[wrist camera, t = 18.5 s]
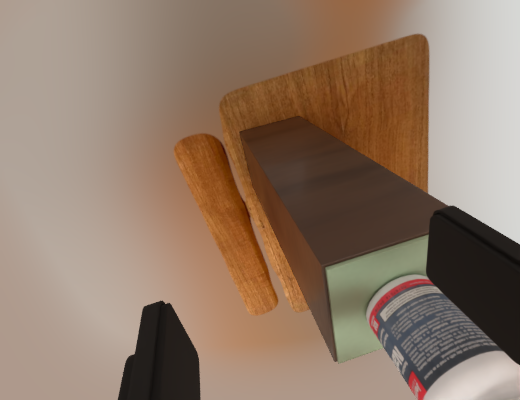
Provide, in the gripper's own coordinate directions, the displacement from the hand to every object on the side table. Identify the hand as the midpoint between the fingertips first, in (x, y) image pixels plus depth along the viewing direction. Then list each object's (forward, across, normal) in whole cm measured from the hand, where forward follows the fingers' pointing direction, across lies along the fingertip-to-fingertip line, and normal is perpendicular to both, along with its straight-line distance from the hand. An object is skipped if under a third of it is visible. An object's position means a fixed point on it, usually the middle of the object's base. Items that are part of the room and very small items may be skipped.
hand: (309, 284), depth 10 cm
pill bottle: (+5, -7, +10) cm, 13 cm away
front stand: (+39, -7, +10) cm, 41 cm away
